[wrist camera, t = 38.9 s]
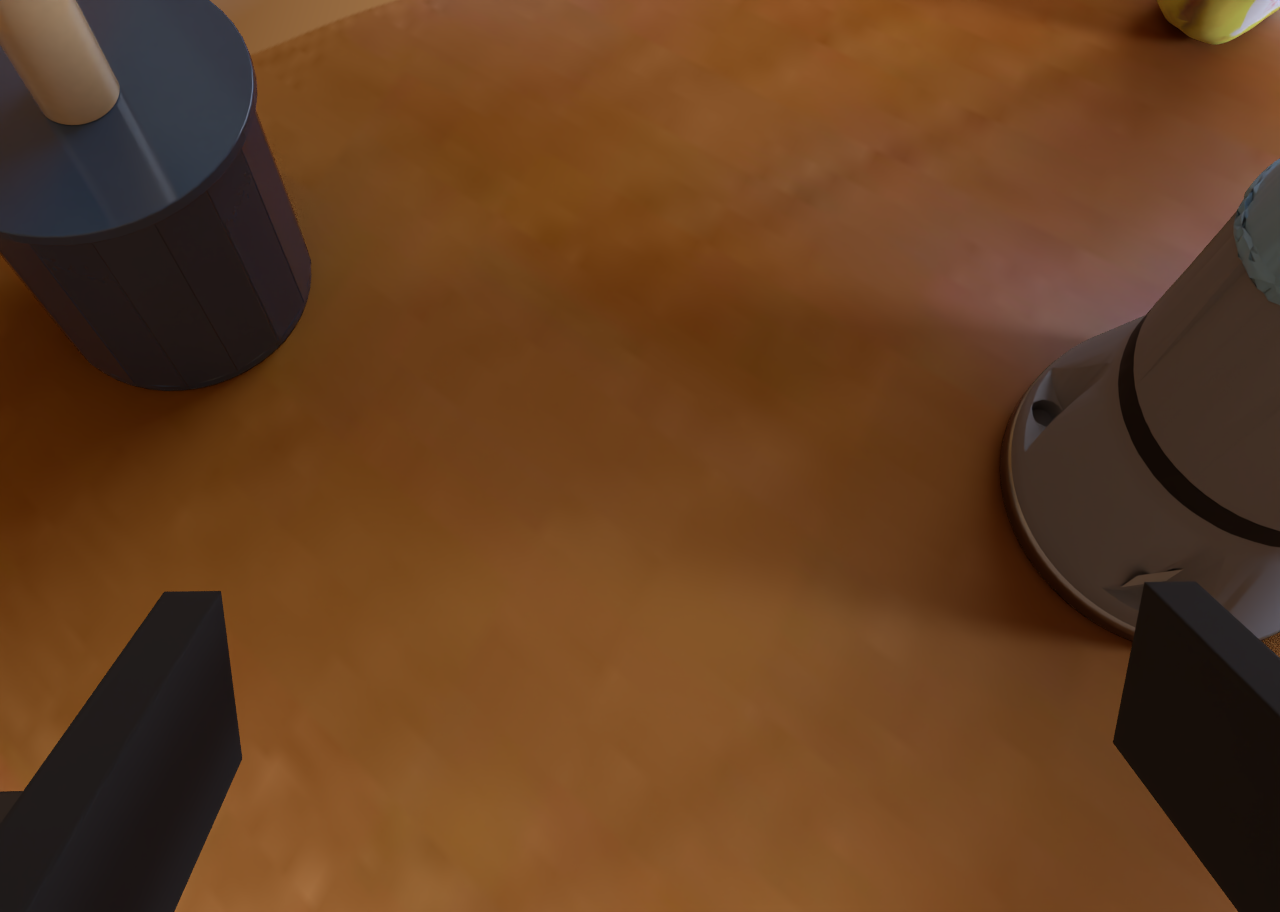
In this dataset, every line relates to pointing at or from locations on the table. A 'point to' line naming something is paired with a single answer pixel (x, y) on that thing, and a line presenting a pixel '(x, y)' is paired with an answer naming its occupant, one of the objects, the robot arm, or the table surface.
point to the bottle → (1216, 17)
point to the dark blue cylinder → (183, 283)
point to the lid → (115, 113)
